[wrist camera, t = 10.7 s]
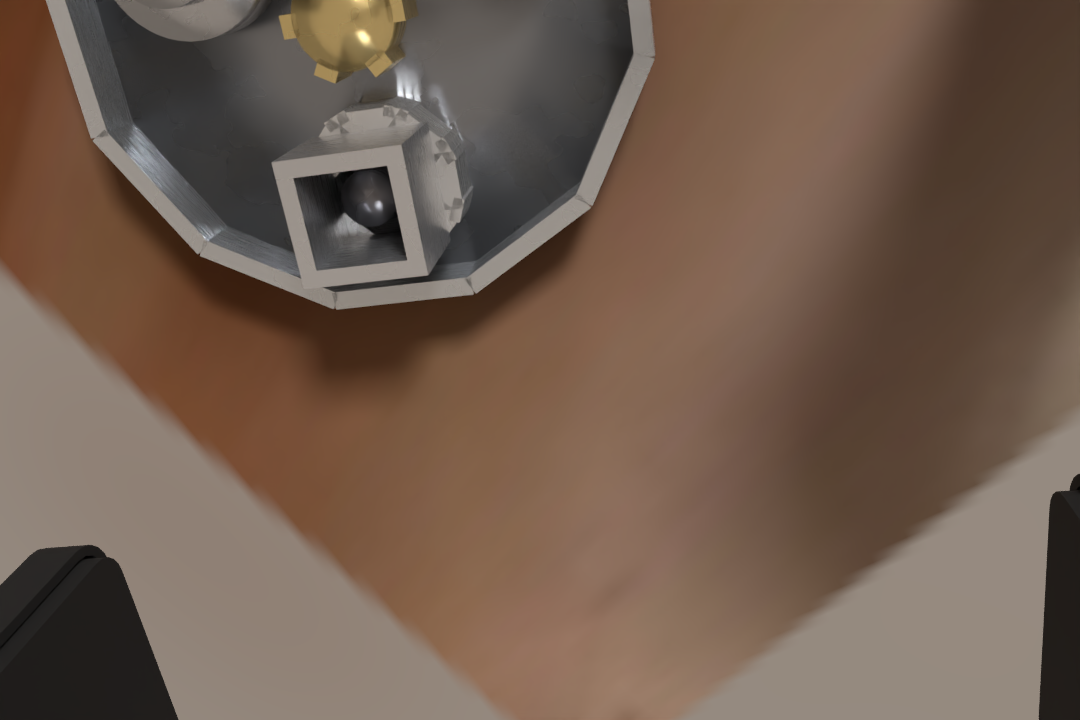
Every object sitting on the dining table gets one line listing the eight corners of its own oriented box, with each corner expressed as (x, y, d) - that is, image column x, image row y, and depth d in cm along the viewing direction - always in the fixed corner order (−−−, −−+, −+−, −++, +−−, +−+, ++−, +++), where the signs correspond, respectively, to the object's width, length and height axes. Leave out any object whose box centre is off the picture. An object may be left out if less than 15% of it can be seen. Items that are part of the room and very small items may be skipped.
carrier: (611, -389, 31) (603, -439, 27) (677, 247, 39) (680, 287, 35) (13, -258, 35) (-79, -284, 30) (187, 303, 43) (133, 346, 38)
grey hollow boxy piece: (455, 87, 37) (420, 116, 31) (484, 242, 39) (455, 294, 34) (302, 109, 38) (242, 141, 32) (338, 259, 40) (288, 313, 35)
